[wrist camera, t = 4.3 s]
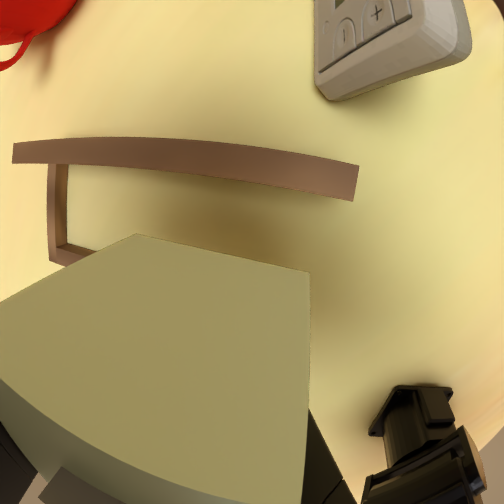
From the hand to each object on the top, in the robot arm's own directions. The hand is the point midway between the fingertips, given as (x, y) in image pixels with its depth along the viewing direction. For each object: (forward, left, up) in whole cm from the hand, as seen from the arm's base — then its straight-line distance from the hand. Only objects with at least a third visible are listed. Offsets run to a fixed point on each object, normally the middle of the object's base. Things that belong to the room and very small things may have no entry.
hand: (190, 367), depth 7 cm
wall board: (+1, +7, -12) cm, 14 cm away
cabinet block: (0, 0, -1) cm, 1 cm away
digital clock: (+18, -4, -12) cm, 22 cm away
